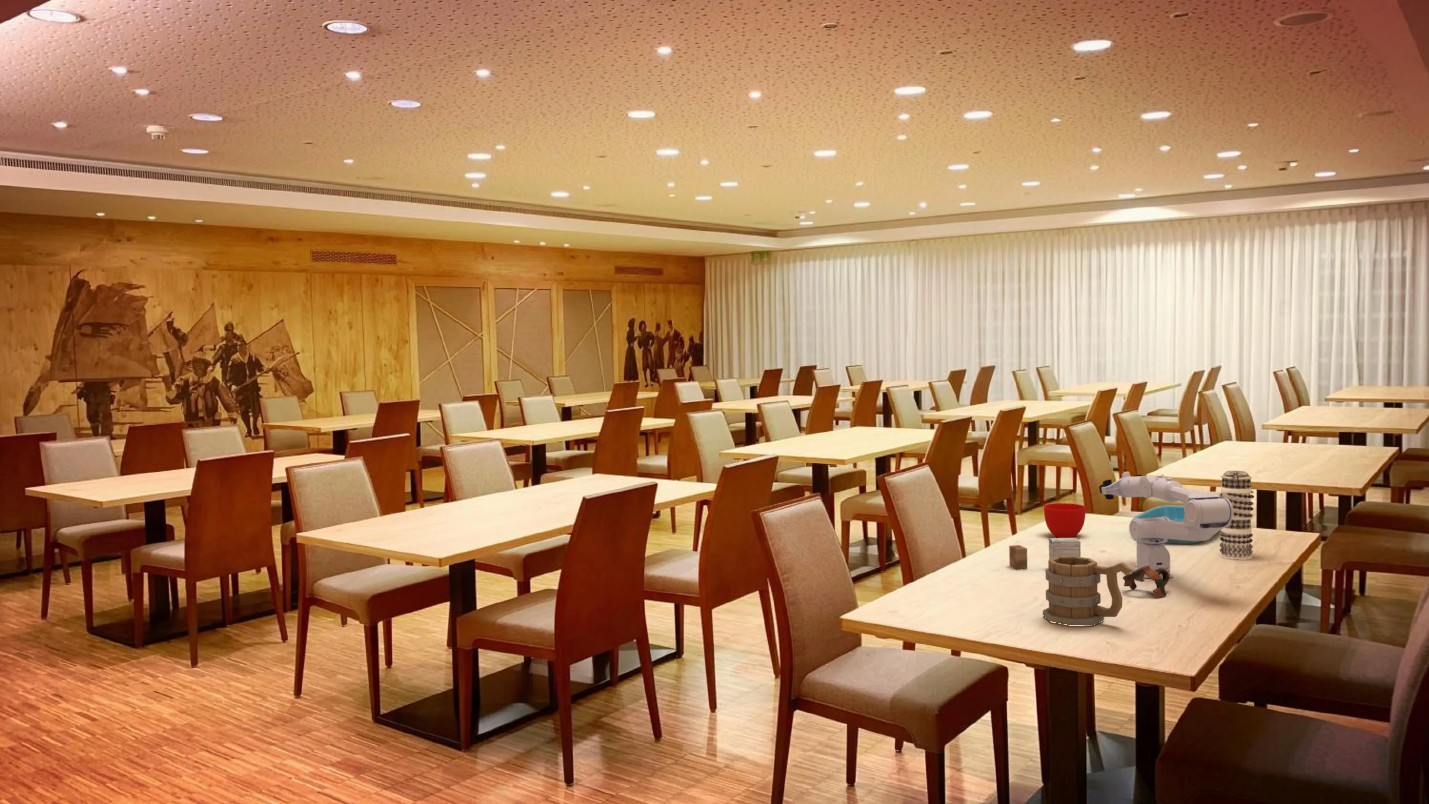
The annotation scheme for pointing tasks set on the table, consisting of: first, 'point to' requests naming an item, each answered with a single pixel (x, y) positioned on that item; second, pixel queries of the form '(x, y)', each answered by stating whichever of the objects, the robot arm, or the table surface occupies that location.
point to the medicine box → (1064, 547)
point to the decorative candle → (1237, 516)
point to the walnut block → (1018, 557)
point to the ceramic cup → (1064, 519)
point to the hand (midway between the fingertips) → (1112, 487)
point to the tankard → (1080, 590)
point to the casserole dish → (1171, 513)
